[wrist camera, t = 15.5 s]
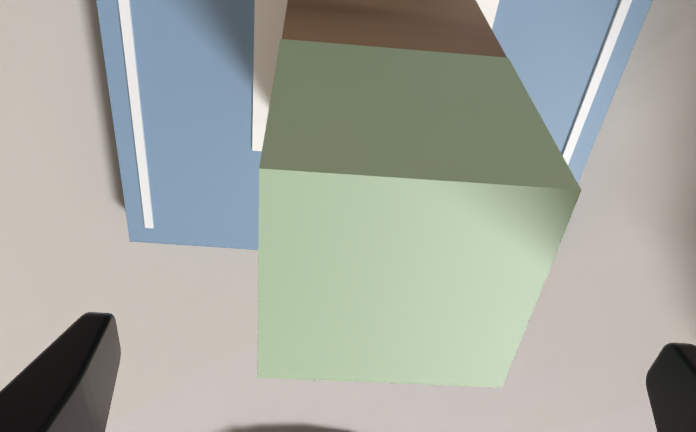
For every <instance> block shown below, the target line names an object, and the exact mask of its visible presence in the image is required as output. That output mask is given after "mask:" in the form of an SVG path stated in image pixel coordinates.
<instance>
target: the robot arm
mask: <svg viewBox="0 0 696 432" xmlns="http://www.w3.org/2000/svg"><path fill="white" fill-rule="evenodd" d="M120 355H121V348H120V342H119V337H118V331H117V325H116V320H115V317H114V316H113V315H112V314H110V313H97V312H88V313H85V314H83V315H82V316H81V317H80V318H79V319H78V320H77V321H75V322H74V323H73V324H72V325H71V326H70V327H69V328H68V329H67V330H66V331H65V332H64V333H63V334H62V335H60V336H59V337H58V338H57V339H56V340H55V341H54V342H53V343H52V344H51V345H50V346H49V347H48V348H46V349H45V350H44V351H43V352H42V353H41V354H40V355H39V356H38V357H37V358H36V359H35V360H34V361H33V362H31V363H30V364H29V365H28V366H27V367H26V368H25V369H24V370H23V371H22V372H21V373H20V374H19V375H17V376H16V377H15V378H14V379H13V380H12V381H11V382H10V383H9V384H8V385H7V386H6V387H5V388H4V389H2V390H1V391H0V432H105V428H106V424H107V419H108V414H109V410H110V405H111V400H112V396H113V391H114V386H115V382H116V377H117V372H118V368H119V363H120ZM646 387H647V392H648V396H649V400H650V404H651V408H652V412H653V416H654V420H655V424H656V428H657V432H696V346H695V345H692V344H686V343H669V344H667V345H665V346H664V347H663V349H662V350H661V352H660V354H659V355H658V357H657V358H656V360H655V361H654V363H653V364H652V366H651V368H650V369H649V371H648V373H647V376H646Z"/></svg>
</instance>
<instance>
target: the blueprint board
mask: <svg viewBox="0 0 696 432" xmlns="http://www.w3.org/2000/svg"><path fill="white" fill-rule="evenodd" d="M287 2H288V0H96V3H97V10H98V17H99V24H100V32H101V39H102V46H103V53H104V60H105V67H106V74H107V82H108V89H109V96H110V103H111V110H112V117H113V124H114V132H115V139H116V146H117V153H118V160H119V167H120V174H121V181H122V189H123V196H124V203H125V210H126V217H127V224H128V231H129V239H130V242H146V243H161V244H176V245H191V246H206V247H221V248H236V249H251V250H258V236H259V166H260V160H261V154H262V148H263V142H264V135H265V129H266V123H267V117H268V111H269V105H270V98H271V92H272V86H273V80H274V74H275V68H276V62H277V55H278V49H279V43H280V39H282V33H283V27H284V21H285V14H286V8H287ZM476 2H477V4H478V5H479V7H480V9H481V11H482V13H483V14H484V16H485V18H486V20H487V22H488V24H489V25H490V27H491V29H492V31H493V33H494V35H495V36H496V38H497V40H498V42H499V44H500V45H501V47H502V49H503V51H504V53H505V55H506V56H507V58H509V60H510V62H511V63H512V65H513V67H514V69H515V71H516V72H517V74H518V76H519V78H520V80H521V82H522V83H523V85H524V87H525V89H526V91H527V92H528V94H529V96H530V98H531V100H532V101H533V103H534V105H535V107H536V109H537V111H538V112H539V114H540V116H541V118H542V120H543V121H544V123H545V125H546V127H547V129H548V130H549V132H550V134H551V136H552V138H553V140H554V141H555V143H556V145H557V147H558V149H559V150H560V152H561V154H562V156H563V158H564V159H565V161H566V163H567V165H568V167H569V169H570V170H571V172H572V174H573V176H574V178H575V179H576V181H577V183H578V181H579V179H580V176H581V174H582V171H583V169H584V166H585V164H586V162H587V159H588V157H589V154H590V152H591V149H592V147H593V144H594V142H595V140H596V137H597V135H598V132H599V130H600V127H601V125H602V122H603V120H604V118H605V115H606V113H607V110H608V108H609V105H610V103H611V100H612V98H613V96H614V93H615V91H616V88H617V86H618V83H619V81H620V78H621V76H622V74H623V71H624V69H625V66H626V64H627V61H628V59H629V57H630V54H631V52H632V49H633V47H634V44H635V42H636V39H637V37H638V35H639V32H640V30H641V27H642V25H643V22H644V20H645V17H646V15H647V13H648V10H649V8H650V5H651V3H652V0H476Z"/></svg>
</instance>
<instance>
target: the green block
mask: <svg viewBox="0 0 696 432" xmlns="http://www.w3.org/2000/svg"><path fill="white" fill-rule="evenodd" d="M580 192H581V188H580V187H579V185H578V183H577V181H576V179H575V178H574V176H573V174H572V172H571V170H570V169H569V167H568V165H567V163H566V161H565V159H564V158H563V156H562V154H561V152H560V150H559V149H558V147H557V145H556V143H555V141H554V140H553V138H552V136H551V134H550V132H549V130H548V129H547V127H546V125H545V123H544V121H543V120H542V118H541V116H540V114H539V112H538V111H537V109H536V107H535V105H534V103H533V101H532V100H531V98H530V96H529V94H528V92H527V91H526V89H525V87H524V85H523V83H522V82H521V80H520V78H519V76H518V74H517V72H516V71H515V69H514V67H513V65H512V63H511V62H510V60H509V58H506V57H494V56H481V55H469V54H457V53H445V52H433V51H421V50H409V49H397V48H385V47H373V46H361V45H349V44H337V43H325V42H312V41H300V40H288V39H280V43H279V49H278V55H277V62H276V68H275V74H274V80H273V86H272V92H271V98H270V105H269V111H268V117H267V123H266V129H265V135H264V142H263V148H262V154H261V160H260V166H259V236H258V344H257V378H281V379H306V380H330V381H355V382H379V383H404V384H429V385H453V386H478V387H502V386H503V384H504V381H505V379H506V376H507V374H508V371H509V369H510V366H511V364H512V361H513V359H514V356H515V354H516V351H517V349H518V346H519V344H520V341H521V339H522V336H523V334H524V331H525V329H526V327H527V324H528V322H529V319H530V317H531V314H532V312H533V309H534V307H535V304H536V302H537V299H538V297H539V294H540V292H541V289H542V287H543V284H544V282H545V279H546V277H547V274H548V272H549V269H550V267H551V264H552V262H553V259H554V257H555V254H556V252H557V249H558V247H559V244H560V242H561V239H562V237H563V234H564V232H565V229H566V227H567V224H568V222H569V219H570V217H571V214H572V212H573V209H574V207H575V204H576V202H577V199H578V197H579V194H580Z"/></svg>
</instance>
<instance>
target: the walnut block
mask: <svg viewBox="0 0 696 432" xmlns="http://www.w3.org/2000/svg"><path fill="white" fill-rule="evenodd" d="M282 39H288V40H300V41H312V42H325V43H337V44H349V45H361V46H373V47H385V48H397V49H409V50H421V51H433V52H445V53H457V54H469V55H481V56H494V57H506V58H507V56H506V55H505V53H504V51H503V49H502V47H501V45H500V44H499V42H498V40H497V38H496V36H495V35H494V33H493V31H492V29H491V27H490V25H489V24H488V22H487V20H486V18H485V16H484V14H483V13H482V11H481V9H480V7H479V5H478V4H477V2H476V0H288V2H287V8H286V14H285V21H284V27H283V33H282Z"/></svg>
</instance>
